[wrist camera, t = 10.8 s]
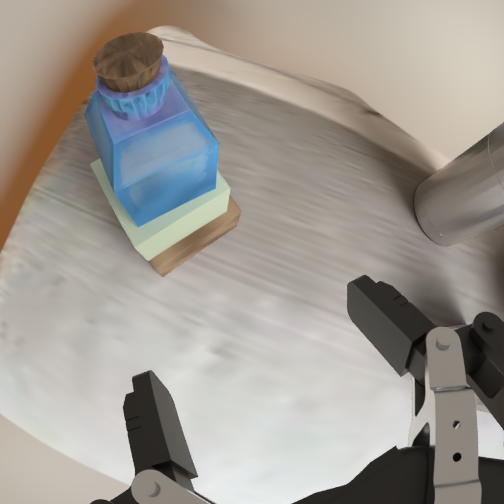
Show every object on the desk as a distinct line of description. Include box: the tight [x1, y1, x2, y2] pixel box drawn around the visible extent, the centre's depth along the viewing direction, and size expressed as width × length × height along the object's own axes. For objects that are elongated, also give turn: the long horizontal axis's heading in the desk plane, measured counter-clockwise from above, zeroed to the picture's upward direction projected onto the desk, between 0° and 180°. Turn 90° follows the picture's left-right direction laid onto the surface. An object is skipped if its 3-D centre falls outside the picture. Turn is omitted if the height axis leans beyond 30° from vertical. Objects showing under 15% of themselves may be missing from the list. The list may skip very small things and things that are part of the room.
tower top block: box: [90, 158, 230, 261], centre depth 25 cm, size 8×8×5 cm
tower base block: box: [149, 195, 241, 277], centre depth 30 cm, size 9×9×5 cm
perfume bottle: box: [85, 32, 219, 227], centre depth 16 cm, size 6×6×12 cm
